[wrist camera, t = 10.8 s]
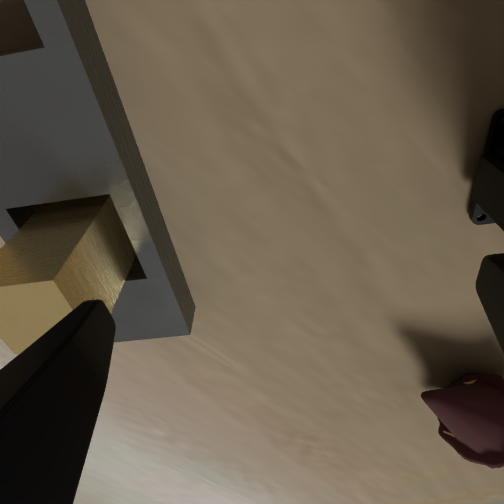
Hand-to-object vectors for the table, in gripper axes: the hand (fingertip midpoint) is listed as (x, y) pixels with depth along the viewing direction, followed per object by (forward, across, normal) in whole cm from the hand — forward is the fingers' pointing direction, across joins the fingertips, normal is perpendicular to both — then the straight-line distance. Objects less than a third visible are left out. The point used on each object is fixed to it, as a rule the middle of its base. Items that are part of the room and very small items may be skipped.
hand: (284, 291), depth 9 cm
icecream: (+12, -14, +24) cm, 31 cm away
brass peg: (+12, +11, +4) cm, 17 cm away
